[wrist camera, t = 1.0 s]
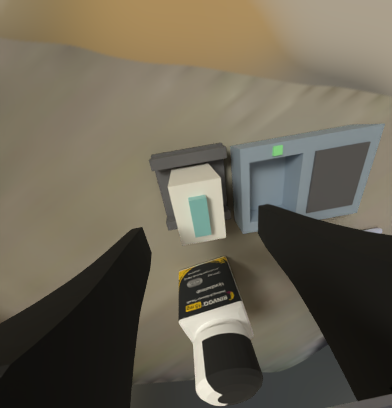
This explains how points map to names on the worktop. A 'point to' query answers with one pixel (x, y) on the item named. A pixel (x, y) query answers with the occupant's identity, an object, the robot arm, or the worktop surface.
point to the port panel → (304, 173)
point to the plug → (197, 203)
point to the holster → (184, 157)
